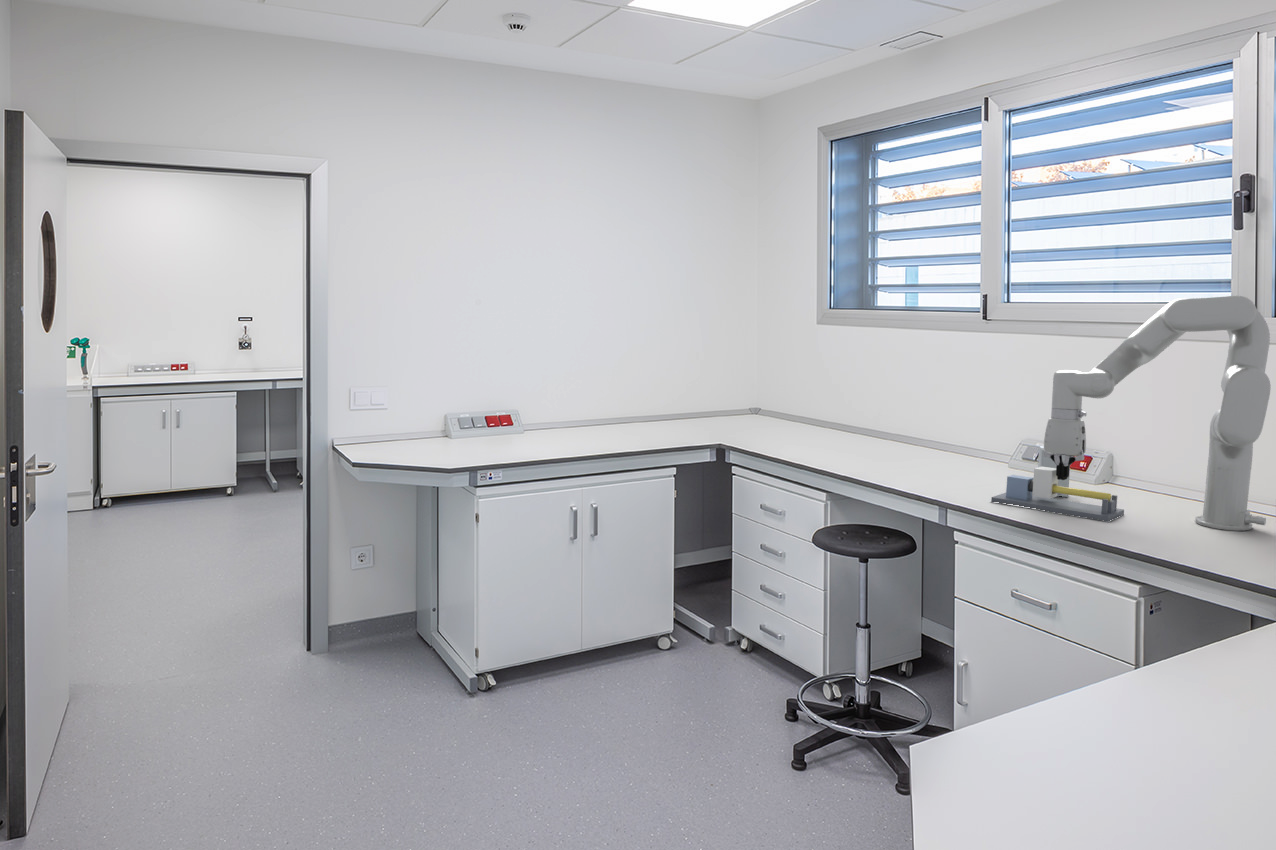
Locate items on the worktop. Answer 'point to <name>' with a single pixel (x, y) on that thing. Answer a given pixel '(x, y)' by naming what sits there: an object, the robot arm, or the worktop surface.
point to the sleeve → (1044, 482)
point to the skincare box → (1050, 463)
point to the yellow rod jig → (1022, 492)
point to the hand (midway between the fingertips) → (1062, 479)
